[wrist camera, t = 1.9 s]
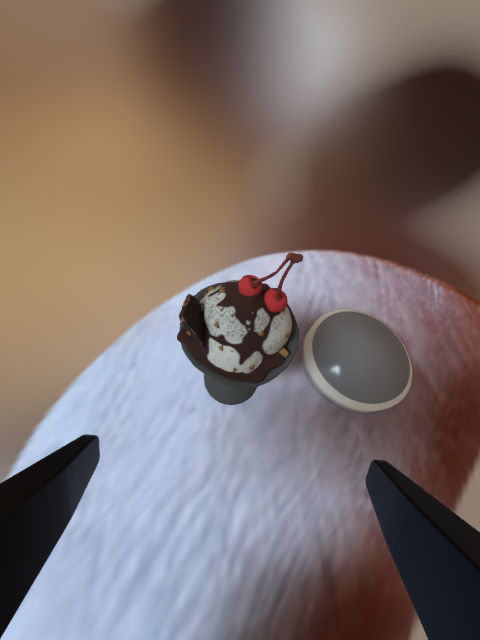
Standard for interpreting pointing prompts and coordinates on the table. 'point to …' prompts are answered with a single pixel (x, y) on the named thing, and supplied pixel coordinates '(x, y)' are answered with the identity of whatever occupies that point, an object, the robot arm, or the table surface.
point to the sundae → (239, 334)
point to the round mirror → (356, 361)
